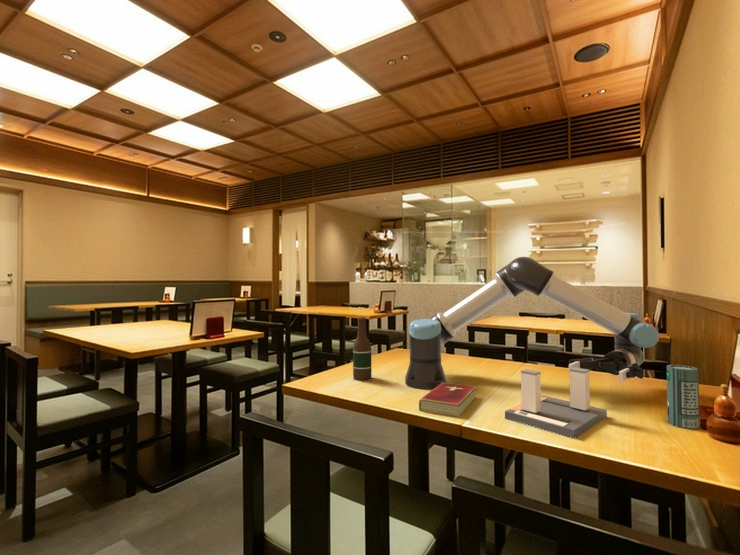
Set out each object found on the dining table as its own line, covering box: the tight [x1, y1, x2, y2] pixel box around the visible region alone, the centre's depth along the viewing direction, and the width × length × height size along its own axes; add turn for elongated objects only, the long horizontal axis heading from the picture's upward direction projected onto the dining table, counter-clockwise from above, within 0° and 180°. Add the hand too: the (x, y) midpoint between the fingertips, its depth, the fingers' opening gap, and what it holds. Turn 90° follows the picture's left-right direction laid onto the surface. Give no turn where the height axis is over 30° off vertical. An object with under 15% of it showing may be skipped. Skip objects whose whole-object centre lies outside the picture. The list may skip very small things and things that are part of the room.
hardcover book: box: [418, 382, 477, 417], centre depth 118 cm, size 12×21×4 cm, turn 151°
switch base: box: [504, 368, 608, 439], centre depth 105 cm, size 18×22×13 cm
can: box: [666, 364, 701, 430], centre depth 99 cm, size 6×6×15 cm
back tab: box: [569, 367, 591, 410], centre depth 105 cm, size 4×3×11 cm
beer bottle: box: [352, 316, 372, 381], centre depth 150 cm, size 8×8×24 cm
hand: (594, 372), depth 112 cm, fingers open, 13 cm apart
